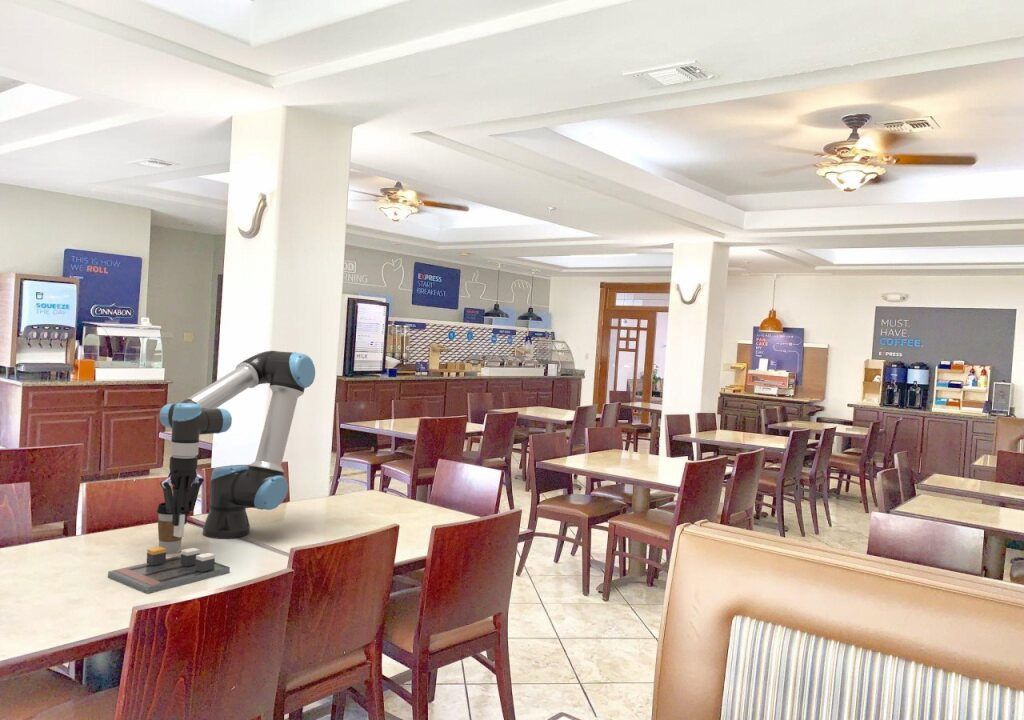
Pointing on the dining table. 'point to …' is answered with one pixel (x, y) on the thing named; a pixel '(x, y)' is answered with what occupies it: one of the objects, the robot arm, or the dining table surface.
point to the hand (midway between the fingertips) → (178, 536)
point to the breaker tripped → (156, 555)
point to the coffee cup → (167, 531)
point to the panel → (163, 575)
